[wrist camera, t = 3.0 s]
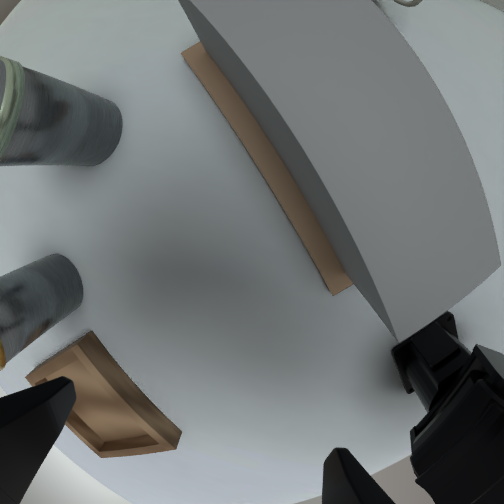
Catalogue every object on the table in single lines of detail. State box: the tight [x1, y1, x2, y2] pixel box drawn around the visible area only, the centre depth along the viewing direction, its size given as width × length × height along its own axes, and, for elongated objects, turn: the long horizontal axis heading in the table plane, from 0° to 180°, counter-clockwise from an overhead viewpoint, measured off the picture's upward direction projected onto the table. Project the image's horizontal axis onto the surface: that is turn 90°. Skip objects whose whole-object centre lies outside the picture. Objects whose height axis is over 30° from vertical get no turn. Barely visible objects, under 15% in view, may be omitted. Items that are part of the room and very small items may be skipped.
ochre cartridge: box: [0, 254, 83, 371], centre depth 15 cm, size 6×6×13 cm
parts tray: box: [25, 331, 182, 458], centre depth 23 cm, size 14×14×3 cm
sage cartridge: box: [0, 56, 122, 166], centre depth 11 cm, size 6×6×13 cm
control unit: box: [178, 0, 501, 343], centre depth 12 cm, size 20×9×10 cm, turn 32°
